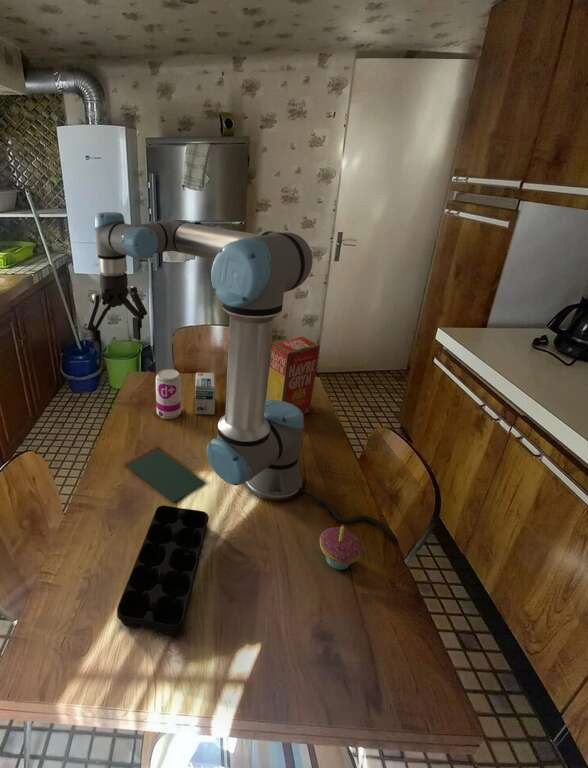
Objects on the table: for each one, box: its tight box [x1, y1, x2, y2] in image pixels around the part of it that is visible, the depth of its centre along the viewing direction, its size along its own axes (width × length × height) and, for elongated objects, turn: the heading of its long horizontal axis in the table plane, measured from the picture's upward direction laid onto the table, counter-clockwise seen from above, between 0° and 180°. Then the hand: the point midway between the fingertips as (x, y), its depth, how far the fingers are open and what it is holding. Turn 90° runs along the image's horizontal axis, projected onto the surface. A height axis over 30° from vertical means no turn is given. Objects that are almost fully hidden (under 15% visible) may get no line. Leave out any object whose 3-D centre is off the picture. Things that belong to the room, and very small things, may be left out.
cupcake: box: [319, 524, 363, 571], centre depth 91 cm, size 9×8×12 cm
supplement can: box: [155, 368, 182, 420], centre depth 143 cm, size 8×8×15 cm
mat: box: [126, 448, 206, 504], centre depth 118 cm, size 20×11×1 cm, turn 44°
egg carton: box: [116, 504, 210, 637], centre depth 90 cm, size 18×30×4 cm, turn 1°
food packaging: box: [266, 336, 321, 415], centre depth 144 cm, size 13×9×25 cm
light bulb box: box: [194, 372, 216, 415], centre depth 148 cm, size 11×7×11 cm, turn 179°
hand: (118, 345), depth 127 cm, fingers open, 13 cm apart
